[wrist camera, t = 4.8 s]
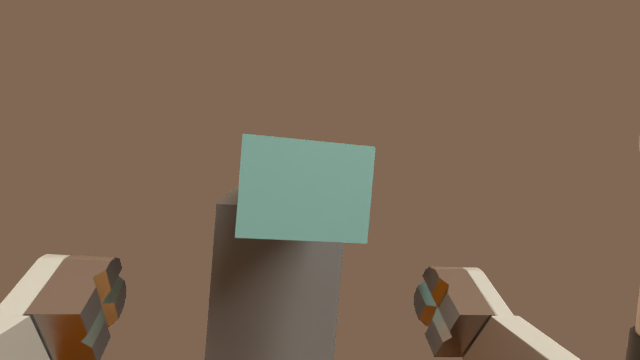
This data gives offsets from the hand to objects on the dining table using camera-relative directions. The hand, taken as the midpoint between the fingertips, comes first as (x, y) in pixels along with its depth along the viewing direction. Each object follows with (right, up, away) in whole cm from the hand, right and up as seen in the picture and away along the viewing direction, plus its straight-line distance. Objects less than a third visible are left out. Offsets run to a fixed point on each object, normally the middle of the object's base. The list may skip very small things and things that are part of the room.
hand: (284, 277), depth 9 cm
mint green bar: (-1, +1, +10) cm, 10 cm away
